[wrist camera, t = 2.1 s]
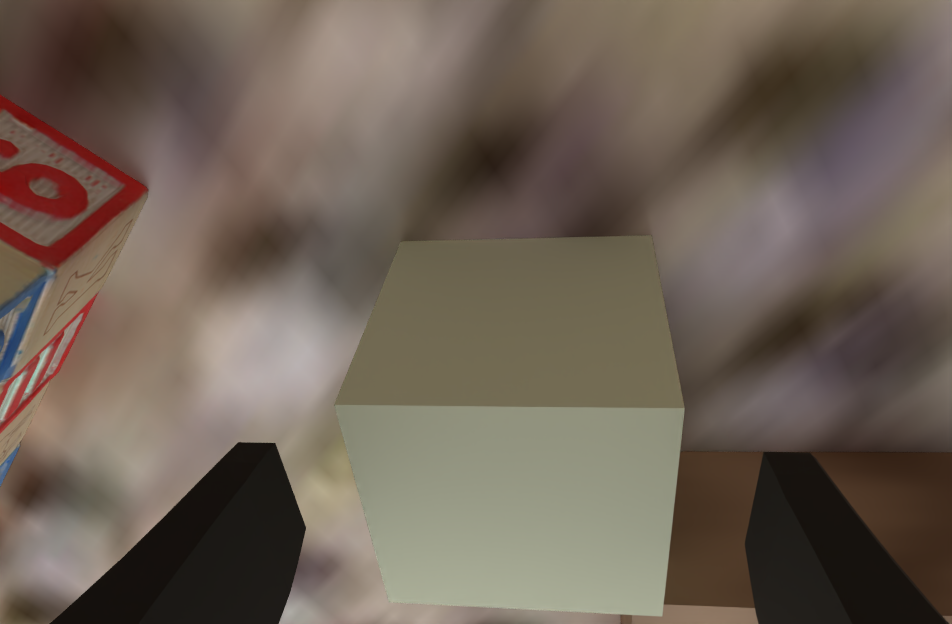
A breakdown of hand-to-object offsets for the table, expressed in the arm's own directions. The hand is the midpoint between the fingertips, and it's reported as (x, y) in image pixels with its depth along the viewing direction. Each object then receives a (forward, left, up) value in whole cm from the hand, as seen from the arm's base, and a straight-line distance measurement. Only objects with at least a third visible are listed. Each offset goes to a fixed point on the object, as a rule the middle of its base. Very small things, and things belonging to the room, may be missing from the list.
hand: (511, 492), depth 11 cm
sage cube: (0, 0, -4) cm, 4 cm away
